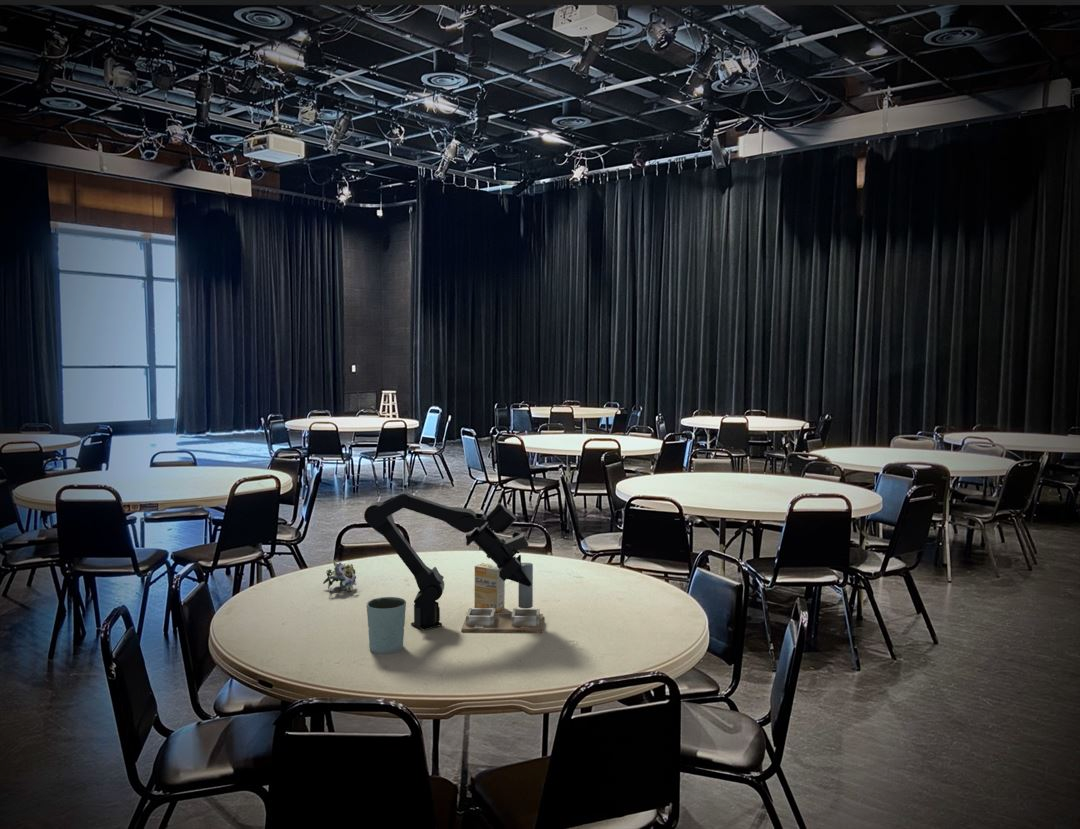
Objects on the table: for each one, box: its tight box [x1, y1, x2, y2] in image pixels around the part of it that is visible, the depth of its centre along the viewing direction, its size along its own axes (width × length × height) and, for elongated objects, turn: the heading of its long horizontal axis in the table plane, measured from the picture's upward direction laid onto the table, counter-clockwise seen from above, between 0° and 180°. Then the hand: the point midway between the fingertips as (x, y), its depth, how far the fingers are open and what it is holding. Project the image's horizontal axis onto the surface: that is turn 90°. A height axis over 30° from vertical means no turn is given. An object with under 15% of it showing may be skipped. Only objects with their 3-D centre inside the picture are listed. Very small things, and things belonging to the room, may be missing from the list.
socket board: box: [461, 607, 544, 634], centre depth 223 cm, size 22×14×3 cm, turn 88°
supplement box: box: [473, 562, 506, 613], centre depth 237 cm, size 8×5×13 cm, turn 62°
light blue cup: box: [366, 596, 407, 655], centre depth 204 cm, size 10×10×12 cm
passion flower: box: [323, 560, 358, 592], centre depth 258 cm, size 11×11×12 cm
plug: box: [517, 562, 534, 609], centre depth 222 cm, size 4×4×12 cm
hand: (530, 583), depth 222 cm, fingers closed on plug, 4 cm apart
